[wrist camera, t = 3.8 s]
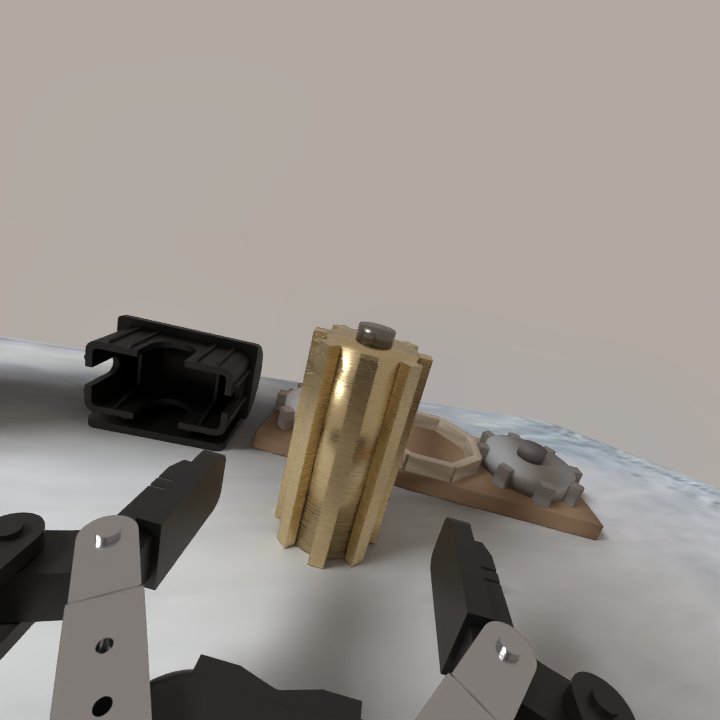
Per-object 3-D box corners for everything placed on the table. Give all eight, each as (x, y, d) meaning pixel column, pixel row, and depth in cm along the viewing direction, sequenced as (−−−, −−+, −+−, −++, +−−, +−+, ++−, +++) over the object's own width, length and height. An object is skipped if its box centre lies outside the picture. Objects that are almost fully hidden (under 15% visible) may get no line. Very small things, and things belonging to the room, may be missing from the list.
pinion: (258, 550, 18) (304, 323, 15) (291, 481, 24) (329, 304, 20) (372, 582, 18) (444, 359, 15) (378, 505, 24) (431, 330, 20)
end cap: (255, 410, 32) (267, 336, 30) (229, 455, 25) (243, 363, 23) (136, 385, 31) (141, 307, 29) (76, 425, 24) (77, 327, 22)
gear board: (252, 447, 26) (260, 401, 25) (288, 399, 35) (295, 363, 34) (596, 540, 26) (619, 496, 25) (546, 468, 34) (561, 433, 33)
